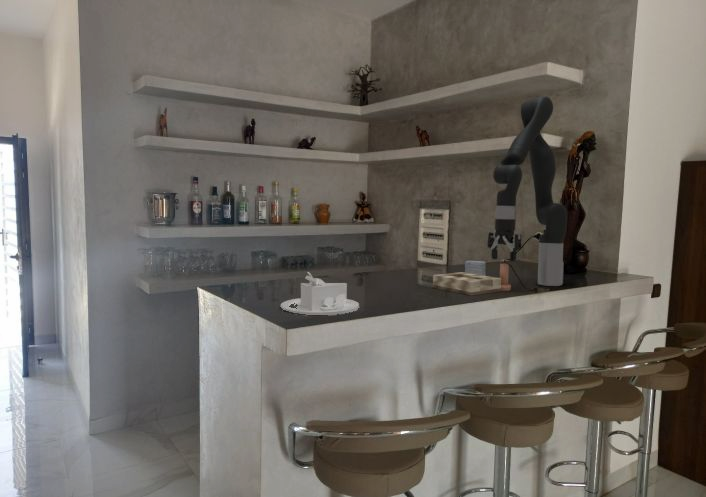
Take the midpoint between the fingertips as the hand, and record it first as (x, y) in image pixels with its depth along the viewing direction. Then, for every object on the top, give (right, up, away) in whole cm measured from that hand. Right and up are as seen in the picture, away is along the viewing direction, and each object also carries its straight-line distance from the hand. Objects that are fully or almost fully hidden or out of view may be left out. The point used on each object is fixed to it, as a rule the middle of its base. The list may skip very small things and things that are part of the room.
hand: (503, 260), depth 196 cm
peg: (0, -11, +1) cm, 11 cm away
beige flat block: (-14, -11, +1) cm, 18 cm away
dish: (-68, -15, -33) cm, 77 cm away
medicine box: (-6, -10, +21) cm, 24 cm away
